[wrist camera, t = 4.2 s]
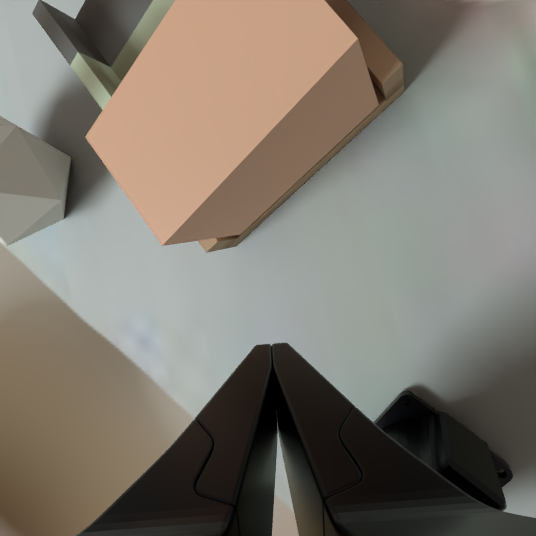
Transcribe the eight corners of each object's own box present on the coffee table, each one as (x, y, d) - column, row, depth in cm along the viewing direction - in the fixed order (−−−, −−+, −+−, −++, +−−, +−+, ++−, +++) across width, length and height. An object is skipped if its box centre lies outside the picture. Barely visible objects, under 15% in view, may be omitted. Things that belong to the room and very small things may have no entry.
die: (35, 115, 28) (-109, 153, 24) (46, 86, 22) (-152, 131, 17) (88, 206, 32) (-31, 255, 27) (111, 205, 25) (-41, 270, 20)
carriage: (378, 104, 16) (357, 38, 10) (240, 234, 20) (162, 245, 14) (303, 17, 17) (239, -98, 11) (183, 159, 21) (85, 136, 15)
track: (404, 91, 17) (403, 64, 14) (235, 246, 22) (206, 252, 19) (190, -154, 19) (146, -225, 16) (81, 39, 24) (32, 13, 21)
